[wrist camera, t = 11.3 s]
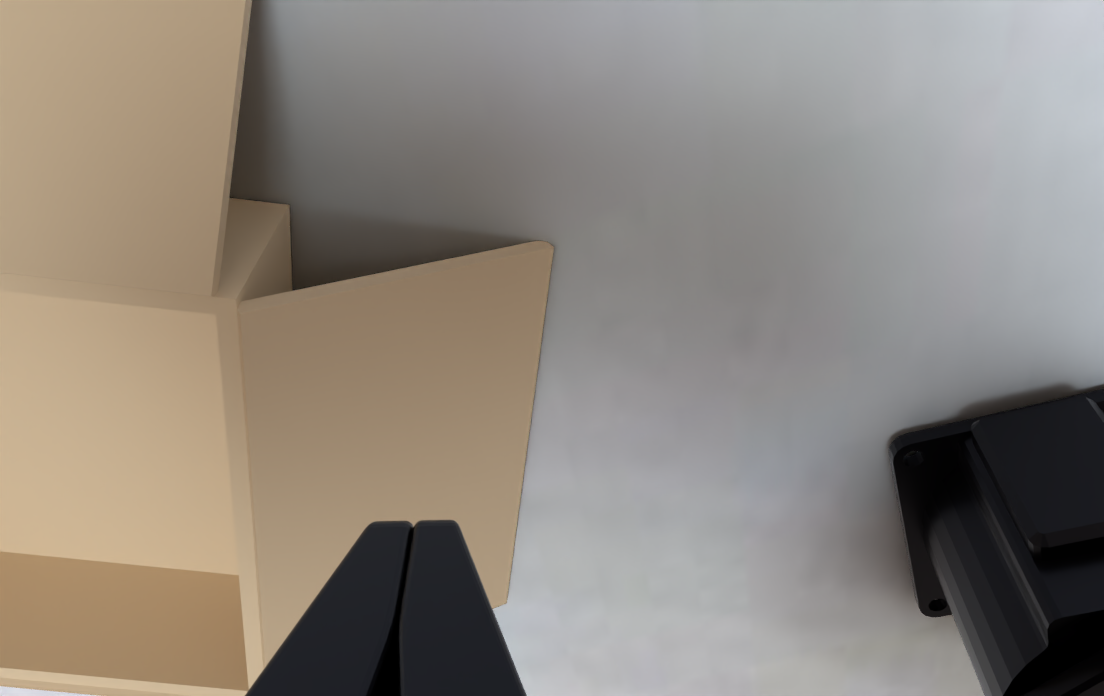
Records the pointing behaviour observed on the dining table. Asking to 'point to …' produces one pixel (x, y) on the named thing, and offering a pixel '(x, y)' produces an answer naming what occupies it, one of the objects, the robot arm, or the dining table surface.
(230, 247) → the carton
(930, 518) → the robot arm
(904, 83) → the dining table surface
